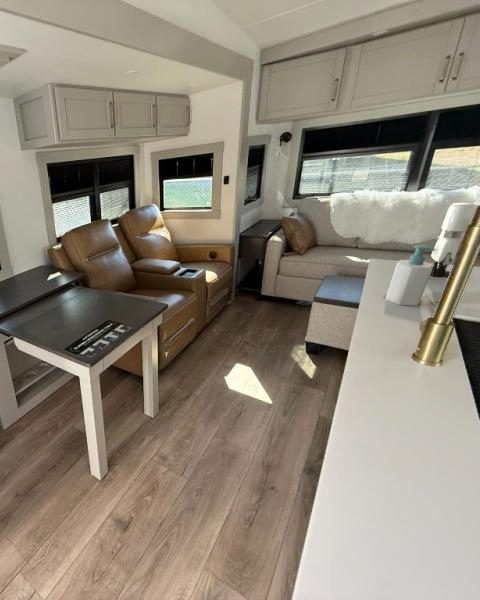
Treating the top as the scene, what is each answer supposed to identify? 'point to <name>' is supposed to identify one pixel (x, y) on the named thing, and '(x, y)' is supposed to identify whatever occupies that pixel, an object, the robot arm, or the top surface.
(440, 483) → the top surface
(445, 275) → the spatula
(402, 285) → the soap bottle
